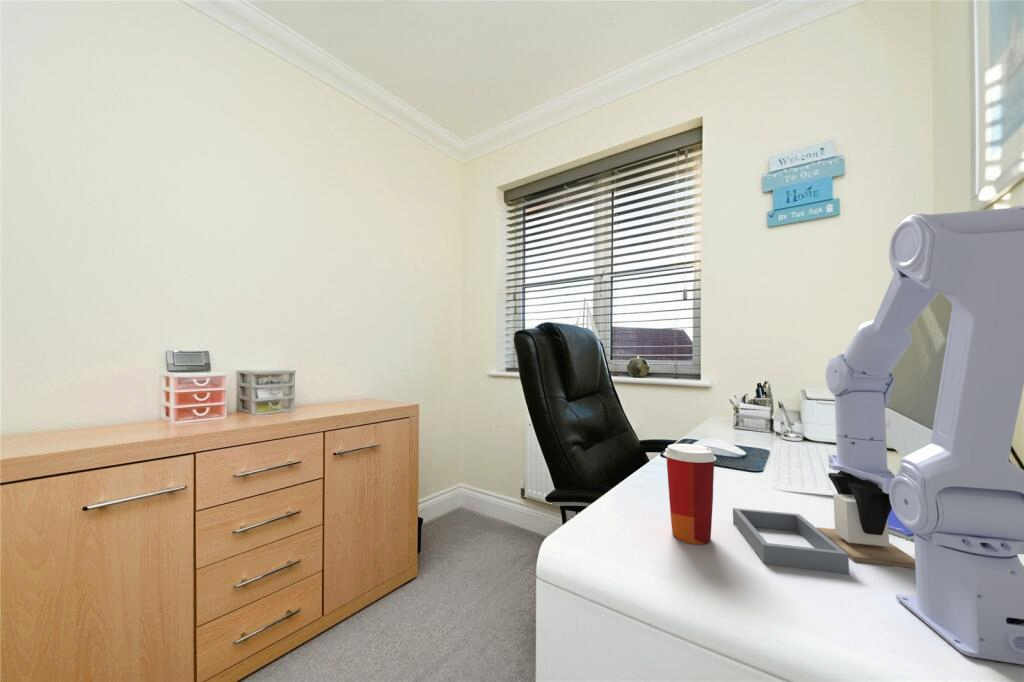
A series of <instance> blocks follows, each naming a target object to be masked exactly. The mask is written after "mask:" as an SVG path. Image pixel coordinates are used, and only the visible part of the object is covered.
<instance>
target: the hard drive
mask: <svg viewBox="0 0 1024 682" xmlns="http://www.w3.org/2000/svg"><path fill="white" fill-rule="evenodd" d="M888 532H889V535H892V536H895V537H898V538H900V539H904V540H907V541H911V540H914V532H912V531H910V530H909V529H907V528H906V527H905V526H904V525H903V523H902V522H901V521H900V520H899V519H898V518H897V516H896V515H895V513H894V511H893V509H892V510H891V512H890V514H889V516H888Z"/></svg>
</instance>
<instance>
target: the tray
mask: <svg viewBox="0 0 1024 682" xmlns="http://www.w3.org/2000/svg"><path fill="white" fill-rule="evenodd" d="M732 523H733V524H734V526H735V527H736V529H737V530H738V531H739V532H740V533H741V535H742V536H743V538H744V539H745V540H746V541H747V544H749V546H750V547H751V549H752V550H753V552H754V553H755V554H756V555H757V556H758V558H759V559H760V561H762V563H763V564H764V565H765V564H767V565H775V566H783V567H791V568H800V569H807V570H816V571H822V572H823V571H824V572H831V573H840V574H841V573H842V574H850V562H849V559H850V558H849V557H848V554H847V553H846V552H845V551H844V550H842V549H841V548H840V547H839V546H838V545H836V544H835V543H834V542H833V541H831V540H830V539H829V538H828V537H827V536H825V535H824V534H823V533H822V532H820V531H819V530H818V529H817V527H816V526H814V525H813V524H812V523H810V521H808V520H807V519H806V518H805V517H803V516H802V515H801V514H800V513H793V512H792V513H791V512H780V511H772V510H771V511H769V510H759V509H747V508H736V507H733V508H732ZM755 527H756V528H766V529H774V530H784V531H786V530H787V531H794V532H797V534H799V535H800V536H801V537H802V538H803V539H804V540H806V541H807V543H809V544H810V545H811V546H812V547H806V546H798V545H789V544H780V543H771V542H767V541H766V539H765V538H764V537H763V536H762V535H761V534H760V532H759V531H758V530H757V529H756V528H755Z"/></svg>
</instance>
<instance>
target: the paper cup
mask: <svg viewBox="0 0 1024 682" xmlns="http://www.w3.org/2000/svg"><path fill="white" fill-rule="evenodd" d="M663 456H664V457H666V469H667V485H668V487H667V488H668V497H669V499H668V501H669V512H670V521H671V524H670V525H671V532H672V536H673V537H674V538H675V539H677V540H679V541H681V542H683V543H687V544H691V545H707V544H709V543H710V542H711V538H712V526H713V525H712V524H713V523H712V522H713V505H714V475H715V474H714V473H715V462H716V461H717V457H716V456H715V454H714V451H713V450H712V449H711V448H710V447H707V446H704V445H700V444H698V445H697V444H690V443H672V444H668V445H667V448H665V452H664V453H663Z"/></svg>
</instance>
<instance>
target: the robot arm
mask: <svg viewBox="0 0 1024 682" xmlns="http://www.w3.org/2000/svg"><path fill="white" fill-rule="evenodd" d="M888 259H889V265H890V268H891V270H892V272H893V274H892V277H891V280H890V282H889V284H888V286H887V289H886V291H885V294H884V296H883V299H882V300H881V303H880V305H879V307H878V311H876V315H875V317H874V319H871V320H867V321H865V322H862V323H861V324H860V325H859V327H858V328H857V330H856V332H855V333H854V336H853V337H852V339H851V341H850V343H849V345H848V347H847V349H846V350H845V352H844V353H841V354H839V353H838V354H837V356H836V357H831V358H830V359H829V360H828V363H827V365H826V368H825V369H826V370H825V381H826V385H827V389H828V390H829V391H830V393H831V394H832V395H834V410H835V411H834V412H835V413H834V414H835V415H834V417H835V418H834V419H835V435H836V436H835V439H836V441H835V444H836V454H828V468H830V469H831V470H834V471H837V472H828V473H827V476H828V478H829V480H830V482H831V483H832V484H833V487H834V488H835V490H836V491H837V494H846V495H854V497H855V500H856V503H857V507H858V511H859V518H860V522H861V526H862V529H863V532H864V533H866V534H874V535H883V532H884V529H885V526H886V522H887V519H888V516H889V514H890V512H891V510H892V509H893V511H894V513H895V515H896V516H897V518H898V519H899V520H900V521H901V522H902V523H903V525H904V526H905V527H906V528H907V529H909V530H910V531H912V532H914V539H913V541H914V543H913V544H914V546H913V547H914V559H915V567H916V568H915V583H916V584H915V587H916V596H915V595H908V594H901V593H900V594H899V593H898V594H896V595H895V599H897V600H898V601H899V602H900V603H902V604H903V605H904V606H905V607H906V608H907V609H909V610H910V611H911V612H912V613H913V614H914V615H916V616H917V617H918V618H919V619H920V620H921V621H923V622H924V623H925V624H927V625H928V626H929V627H930V628H931V629H933V630H934V631H935V632H936V633H937V634H938V635H940V636H941V637H942V638H943V639H944V640H946V641H947V642H948V643H950V645H951V646H953V647H954V648H955V649H957V651H959V652H960V653H962V655H965V656H968V657H970V658H971V657H972V658H977V659H978V658H979V659H983V660H984V659H986V660H991V661H999V662H1003V663H1004V662H1005V663H1008V664H1009V663H1010V664H1018V665H1023V666H1024V564H1023V563H1022V562H1021V559H1020V557H1019V556H1018V555H1024V469H1023V468H1021V467H1019V466H1018V465H1016V464H1014V462H1011V460H1010V455H1011V450H1012V444H1013V441H1014V440H1013V439H1014V435H1015V432H1016V425H1017V420H1018V416H1019V410H1020V405H1021V400H1022V396H1023V390H1024V205H1015V206H1011V207H1010V206H1009V207H1007V208H995V209H994V208H991V209H983V210H980V209H979V210H971V211H956V212H942V213H930V214H926V213H914V214H911V215H909V216H907V217H906V218H904V219H903V220H902V221H901V222H900V223H899V224H898V226H897V227H896V229H895V230H894V232H893V233H892V235H891V238H890V243H889V248H888ZM939 293H941V294H942V295H943V296H944V297H945V298H946V299H947V300H948V301H949V302H950V304H951V310H950V311H951V313H950V318H949V325H948V330H947V338H946V344H945V349H944V351H945V352H944V355H943V362H942V363H943V364H942V369H941V376H940V382H939V388H938V393H937V394H938V395H937V398H936V399H937V400H936V406H935V407H936V408H935V411H934V412H935V413H934V419H933V425H932V432H931V438H930V443H929V444H928V445H926V446H924V447H923V446H922V448H919V449H917V450H915V451H912V452H911V453H909V454H907V455H906V456H903V457H902V458H900V464H899V469H898V472H897V473H896V475H895V474H894V472H892V471H891V470H890V468H888V467H889V466H888V449H887V448H888V446H887V444H888V443H887V427H886V423H887V422H886V421H887V420H886V409H887V408H889V407H890V404H891V401H890V400H891V394H892V392H893V390H894V386H895V377H894V374H893V370H894V369H895V367H896V366H897V365H898V363H899V362H900V360H901V359H902V358H903V356H904V355H905V353H906V352H907V351H908V349H909V347H910V346H911V345H912V343H913V340H914V338H913V335H912V333H911V331H910V330H909V328H910V327H911V326H912V325H913V324H914V323H915V322H916V320H917V319H918V318H919V317H920V316H921V314H922V313H923V312H924V310H925V309H926V308H927V307H928V306H929V305H930V304H931V302H932V301H933V300H935V298H936V297H937V295H938V294H939Z"/></svg>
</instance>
